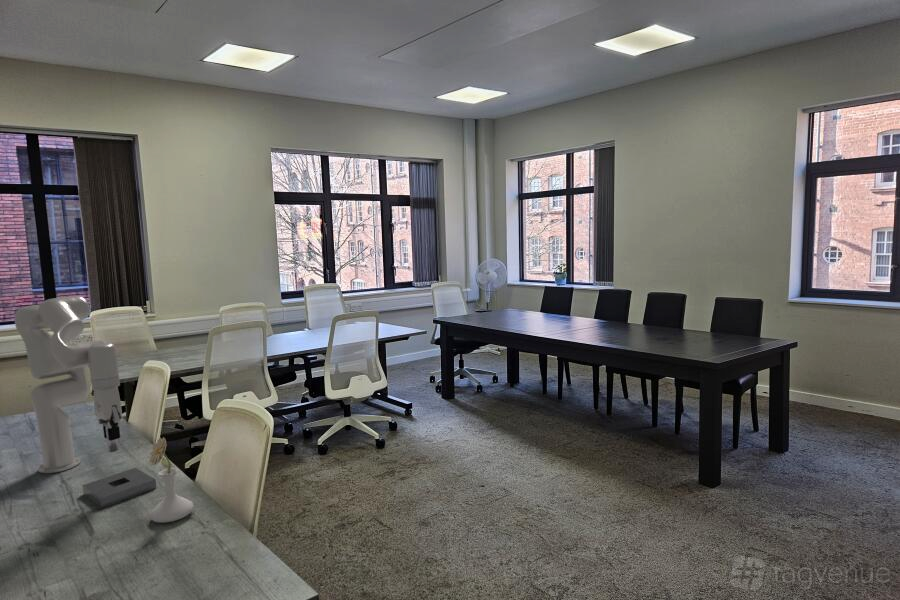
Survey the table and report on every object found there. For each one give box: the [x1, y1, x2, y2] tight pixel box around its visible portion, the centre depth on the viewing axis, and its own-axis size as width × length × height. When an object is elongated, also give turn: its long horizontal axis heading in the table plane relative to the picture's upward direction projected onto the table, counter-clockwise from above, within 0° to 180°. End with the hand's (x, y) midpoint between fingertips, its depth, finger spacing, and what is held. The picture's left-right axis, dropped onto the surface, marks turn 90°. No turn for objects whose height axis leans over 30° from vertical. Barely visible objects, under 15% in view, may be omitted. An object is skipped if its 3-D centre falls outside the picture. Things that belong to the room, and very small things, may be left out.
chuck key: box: [98, 415, 122, 453], centre depth 176 cm, size 3×6×11 cm, turn 140°
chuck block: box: [82, 467, 157, 509], centre depth 178 cm, size 16×16×3 cm
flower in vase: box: [149, 437, 195, 524], centre depth 158 cm, size 13×11×25 cm
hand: (112, 437), depth 176 cm, fingers closed on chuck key, 3 cm apart
